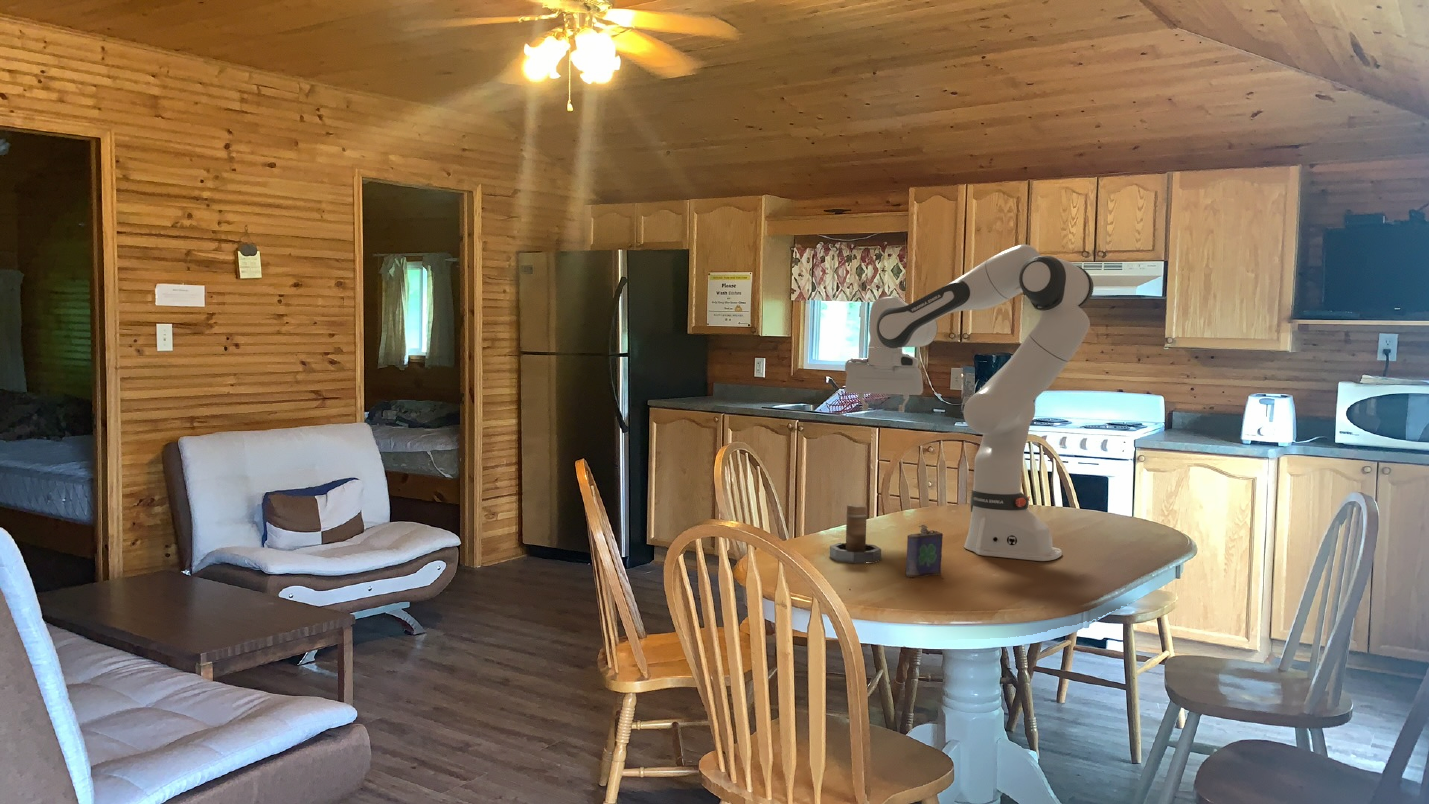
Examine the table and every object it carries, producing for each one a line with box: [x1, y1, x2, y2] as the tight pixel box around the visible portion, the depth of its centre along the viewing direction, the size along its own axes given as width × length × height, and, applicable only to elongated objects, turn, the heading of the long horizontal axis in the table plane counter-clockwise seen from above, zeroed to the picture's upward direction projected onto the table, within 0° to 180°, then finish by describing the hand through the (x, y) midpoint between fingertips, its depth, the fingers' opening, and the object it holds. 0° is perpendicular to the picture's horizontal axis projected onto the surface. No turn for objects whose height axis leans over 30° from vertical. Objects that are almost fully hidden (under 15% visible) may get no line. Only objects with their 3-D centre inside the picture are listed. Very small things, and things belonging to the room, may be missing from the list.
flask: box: [905, 524, 944, 578], centre depth 228 cm, size 9×3×11 cm, turn 121°
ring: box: [829, 542, 882, 564], centre depth 244 cm, size 11×11×2 cm
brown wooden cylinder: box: [845, 504, 868, 551], centre depth 243 cm, size 5×5×12 cm
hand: (883, 411), depth 281 cm, fingers open, 8 cm apart
